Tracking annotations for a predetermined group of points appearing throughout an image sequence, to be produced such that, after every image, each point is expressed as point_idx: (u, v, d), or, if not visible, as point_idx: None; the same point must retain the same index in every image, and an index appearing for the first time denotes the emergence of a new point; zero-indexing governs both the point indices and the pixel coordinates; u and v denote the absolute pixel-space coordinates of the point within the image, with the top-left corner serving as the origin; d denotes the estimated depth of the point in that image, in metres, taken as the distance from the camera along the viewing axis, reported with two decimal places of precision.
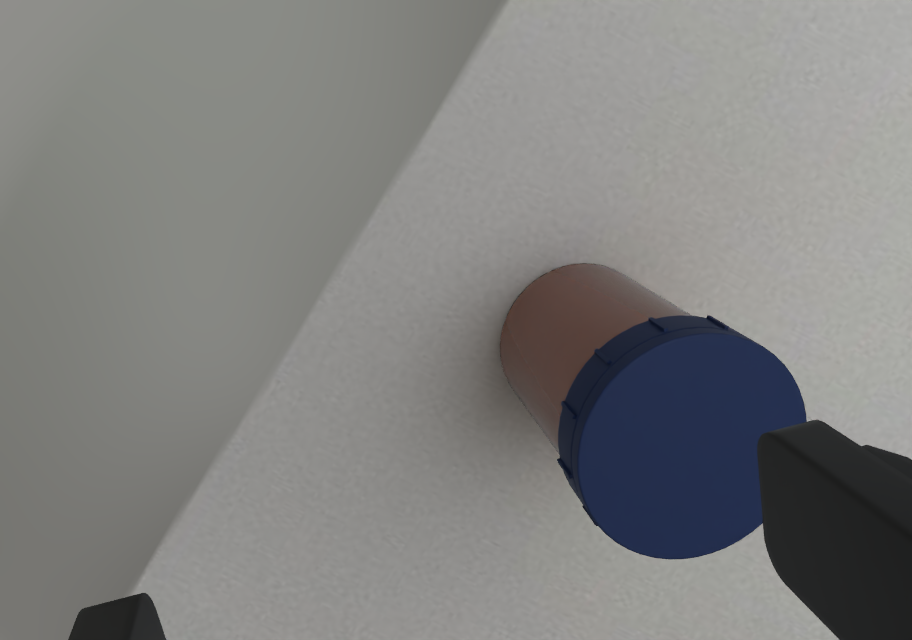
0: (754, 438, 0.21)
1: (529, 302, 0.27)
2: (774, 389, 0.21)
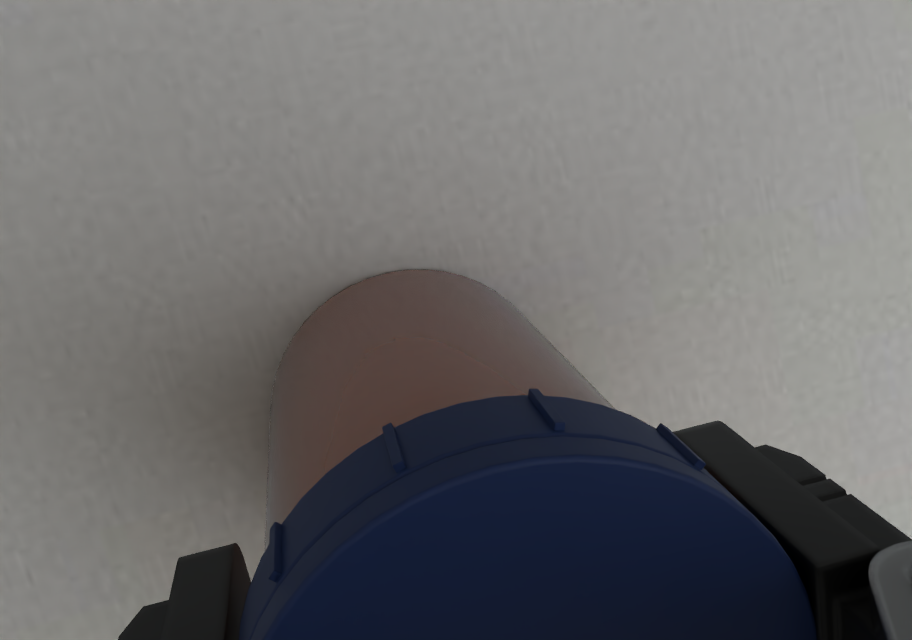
0: None
1: (420, 283, 0.15)
2: None
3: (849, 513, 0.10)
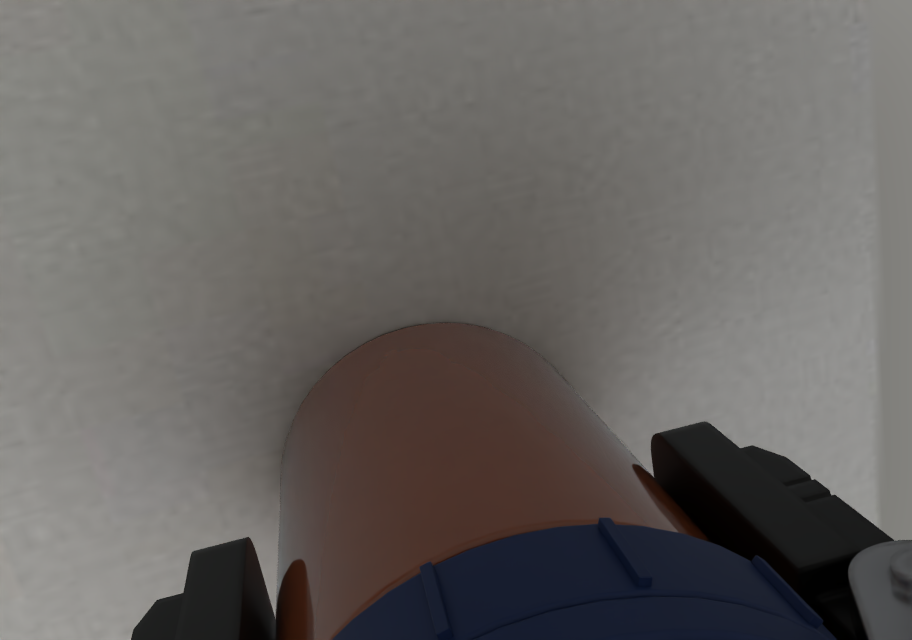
0: None
1: None
2: None
3: (832, 513, 0.10)
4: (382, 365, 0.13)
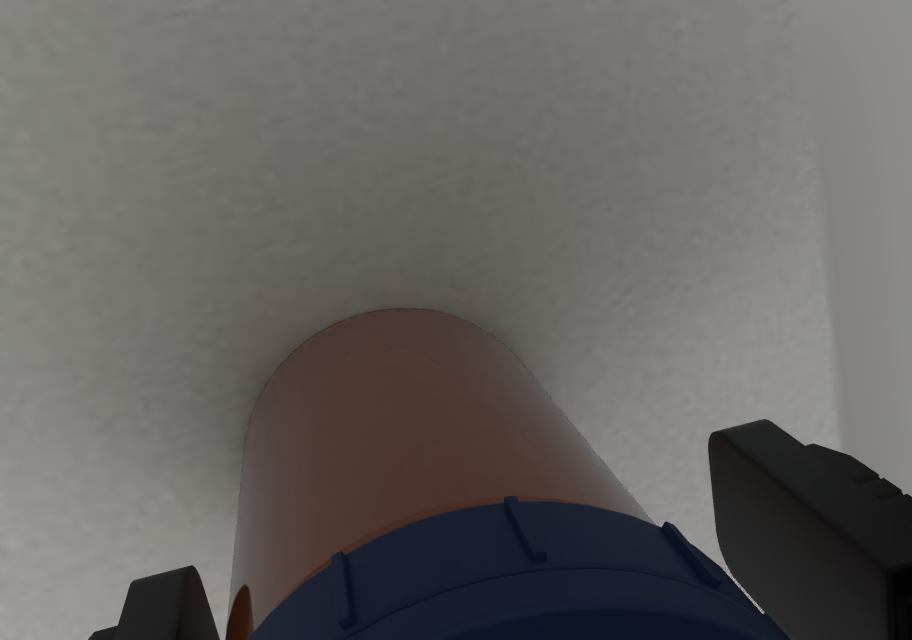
0: None
1: None
2: None
3: (907, 513, 0.10)
4: (328, 355, 0.13)
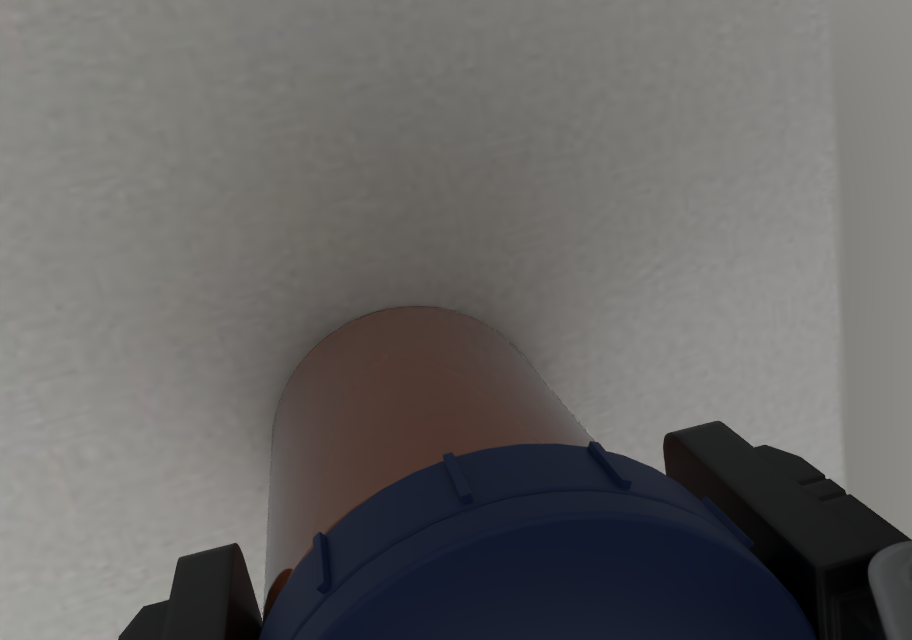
0: None
1: None
2: (750, 635, 0.08)
3: (848, 513, 0.10)
4: (340, 352, 0.15)
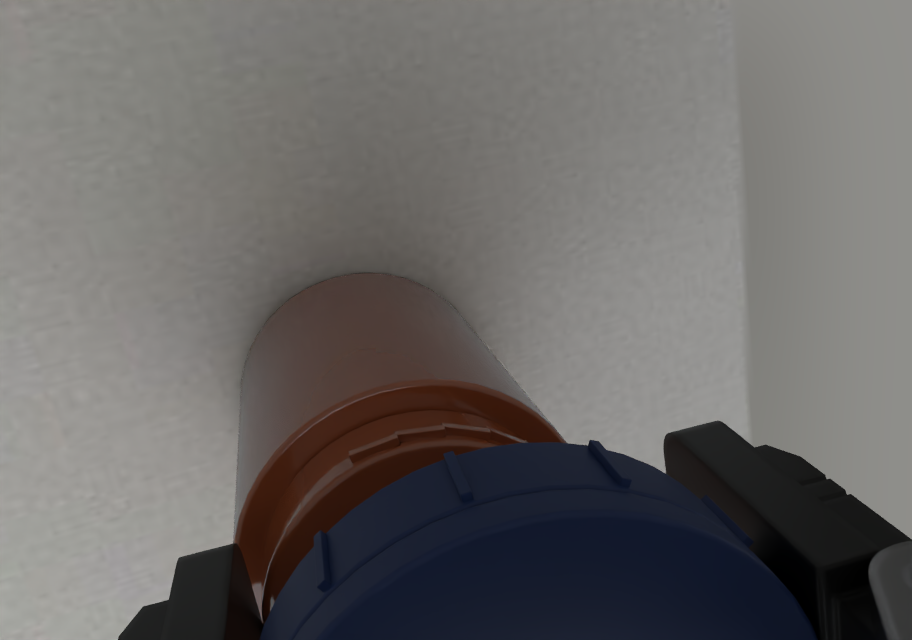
0: None
1: None
2: (750, 633, 0.08)
3: (849, 513, 0.10)
4: (302, 310, 0.17)
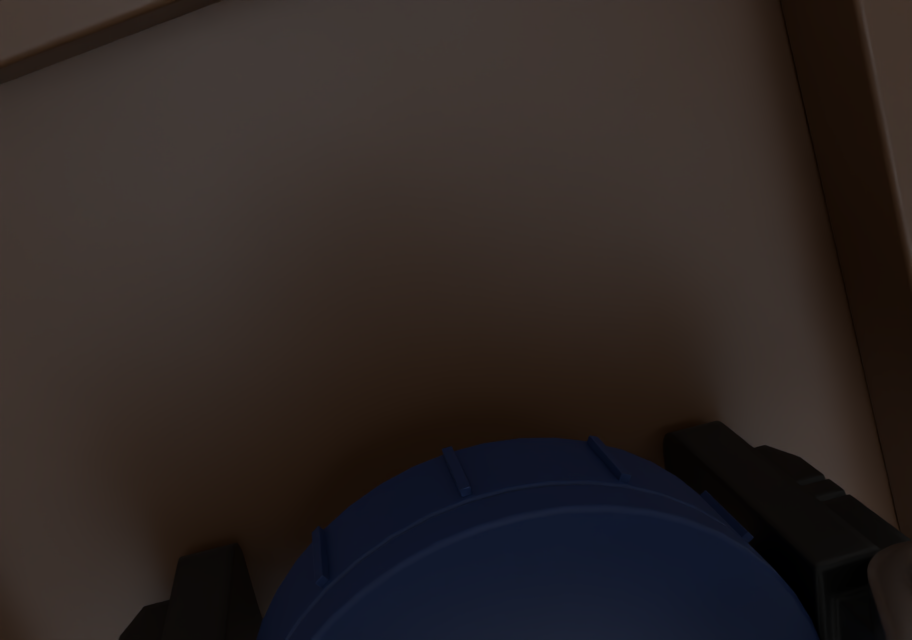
0: None
1: None
2: (750, 629, 0.08)
3: (848, 513, 0.10)
4: None
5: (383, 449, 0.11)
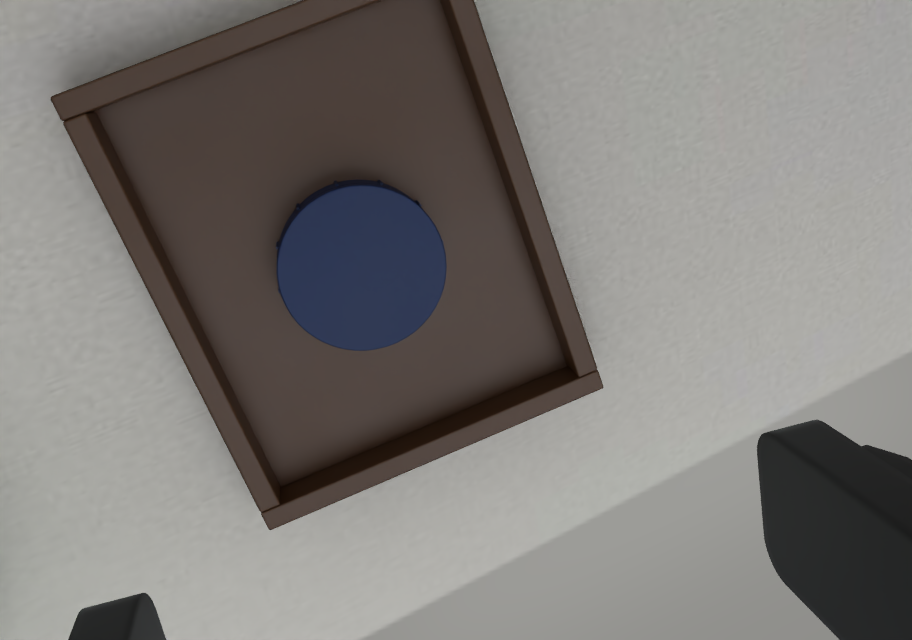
0: (406, 261, 0.30)
1: None
2: (416, 226, 0.30)
3: None
4: None
5: None
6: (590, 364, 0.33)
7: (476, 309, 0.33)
